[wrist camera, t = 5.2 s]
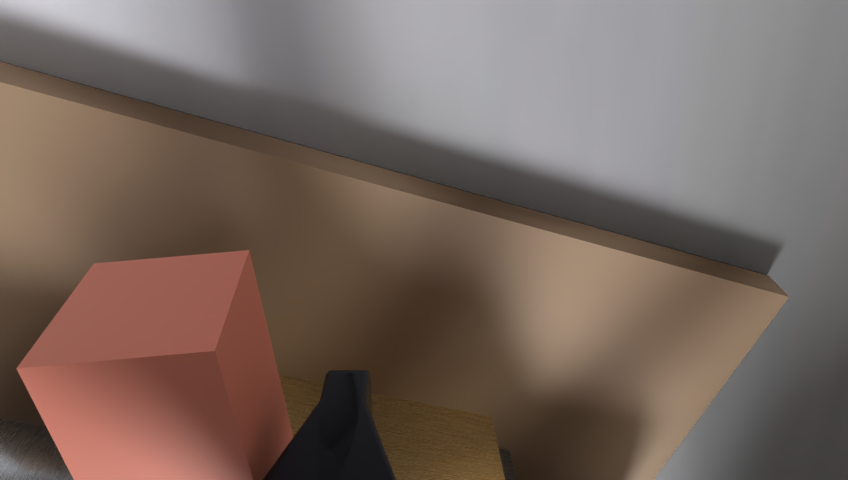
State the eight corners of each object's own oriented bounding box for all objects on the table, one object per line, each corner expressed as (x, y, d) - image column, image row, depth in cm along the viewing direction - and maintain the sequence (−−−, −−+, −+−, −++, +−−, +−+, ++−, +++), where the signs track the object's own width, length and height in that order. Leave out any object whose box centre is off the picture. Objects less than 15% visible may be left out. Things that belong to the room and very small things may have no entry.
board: (768, 275, 17) (789, 297, 16) (525, 618, 25) (530, 645, 24) (-40, 50, 13) (-71, 62, 12) (-27, 550, 20) (-45, 579, 20)
